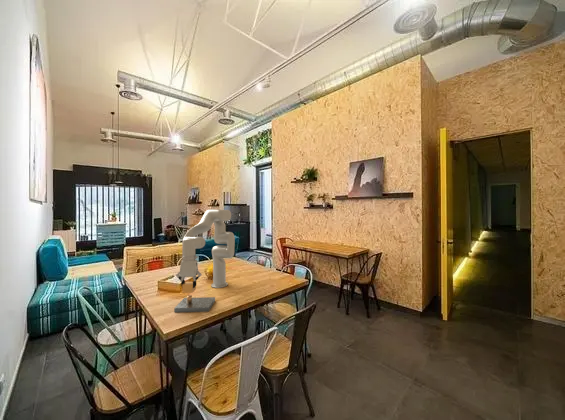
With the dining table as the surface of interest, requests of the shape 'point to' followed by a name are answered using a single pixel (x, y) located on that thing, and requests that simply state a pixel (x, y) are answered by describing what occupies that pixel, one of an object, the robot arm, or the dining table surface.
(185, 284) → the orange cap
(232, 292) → the dining table surface
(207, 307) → the plate
